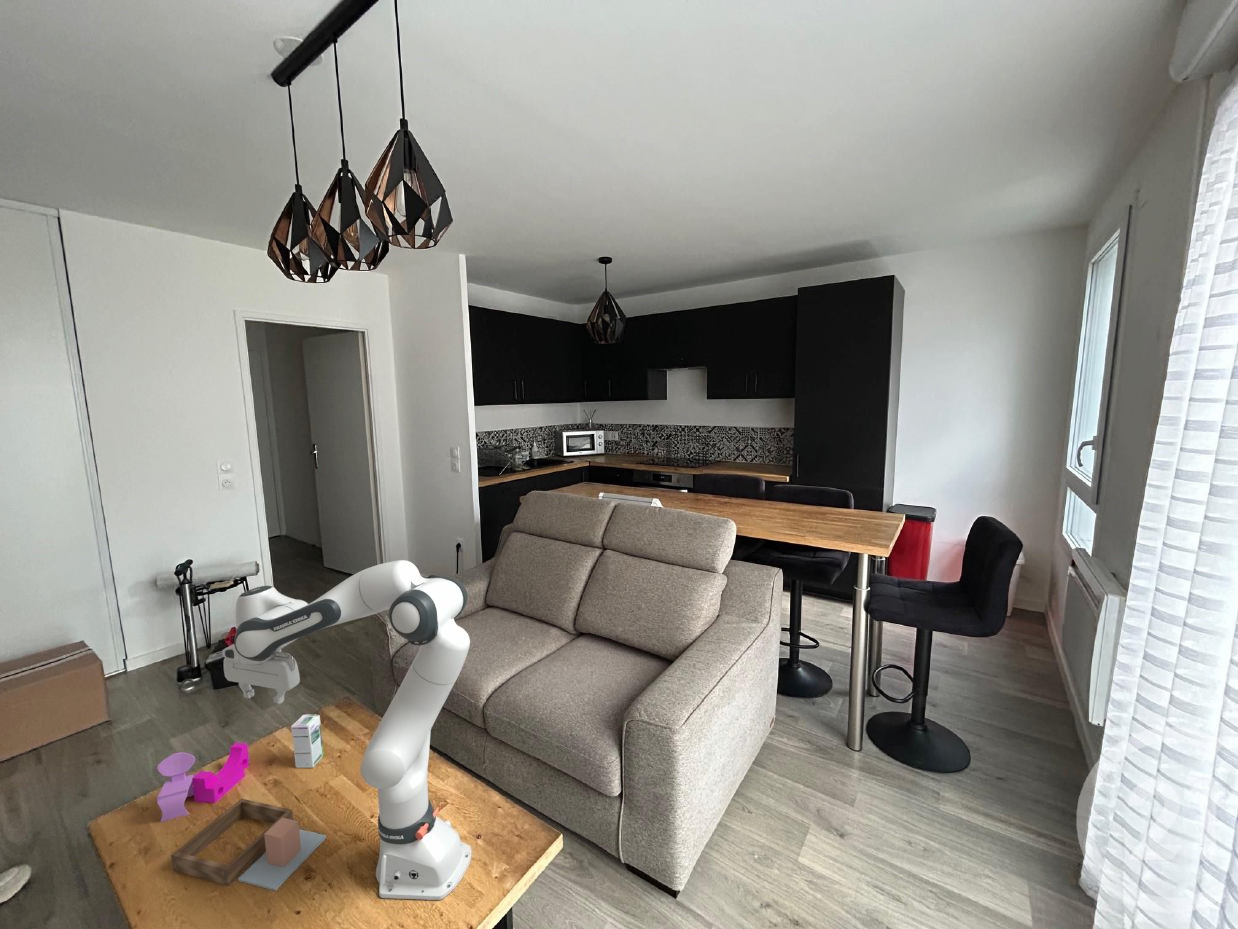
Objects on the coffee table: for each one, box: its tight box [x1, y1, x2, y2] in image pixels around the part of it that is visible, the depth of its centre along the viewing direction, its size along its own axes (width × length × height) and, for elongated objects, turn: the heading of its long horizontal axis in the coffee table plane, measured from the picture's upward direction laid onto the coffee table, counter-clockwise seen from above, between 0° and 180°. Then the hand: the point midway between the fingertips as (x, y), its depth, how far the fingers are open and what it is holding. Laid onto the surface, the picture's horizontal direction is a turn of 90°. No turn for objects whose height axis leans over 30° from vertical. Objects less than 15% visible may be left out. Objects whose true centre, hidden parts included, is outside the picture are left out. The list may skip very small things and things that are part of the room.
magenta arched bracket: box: [192, 742, 250, 804], centre depth 152 cm, size 15×6×8 cm, turn 175°
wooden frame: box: [170, 798, 294, 887], centre depth 130 cm, size 17×18×4 cm
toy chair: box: [156, 751, 196, 823], centre depth 142 cm, size 8×9×15 cm
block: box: [264, 818, 301, 867], centre depth 126 cm, size 5×5×8 cm
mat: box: [237, 828, 327, 892], centre depth 127 cm, size 11×15×1 cm
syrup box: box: [290, 713, 325, 769], centre depth 160 cm, size 6×6×14 cm
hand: (264, 699), depth 131 cm, fingers open, 8 cm apart
